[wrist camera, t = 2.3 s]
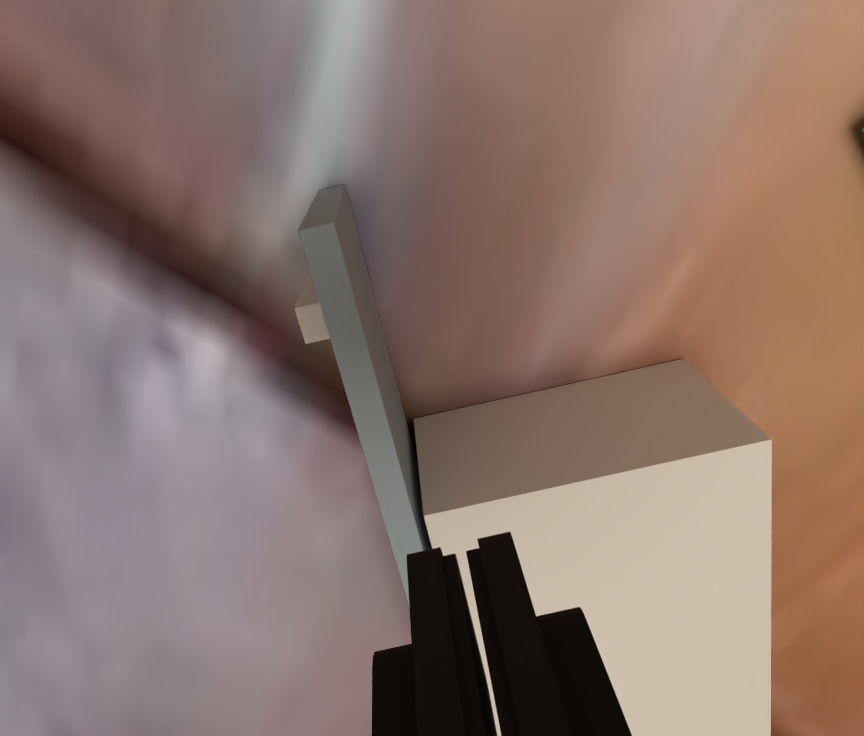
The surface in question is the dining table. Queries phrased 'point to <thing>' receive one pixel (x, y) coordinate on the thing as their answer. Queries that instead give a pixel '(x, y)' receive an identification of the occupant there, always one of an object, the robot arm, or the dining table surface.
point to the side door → (361, 365)
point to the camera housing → (625, 533)
